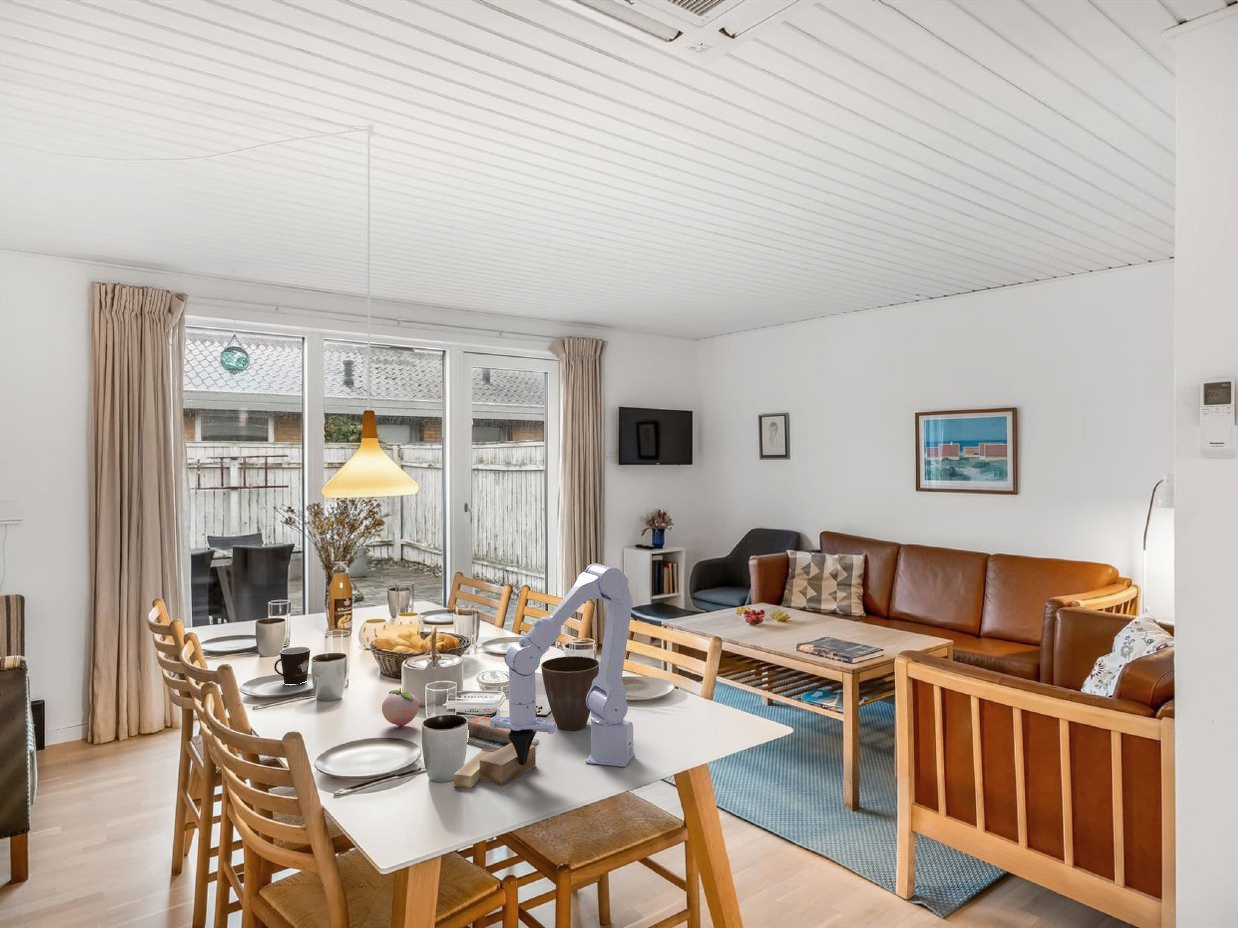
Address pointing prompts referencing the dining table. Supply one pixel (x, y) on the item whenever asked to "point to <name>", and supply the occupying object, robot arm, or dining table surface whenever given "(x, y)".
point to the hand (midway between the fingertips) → (523, 763)
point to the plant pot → (569, 689)
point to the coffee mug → (294, 664)
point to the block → (505, 765)
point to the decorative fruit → (400, 707)
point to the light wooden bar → (470, 770)
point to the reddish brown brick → (489, 734)
